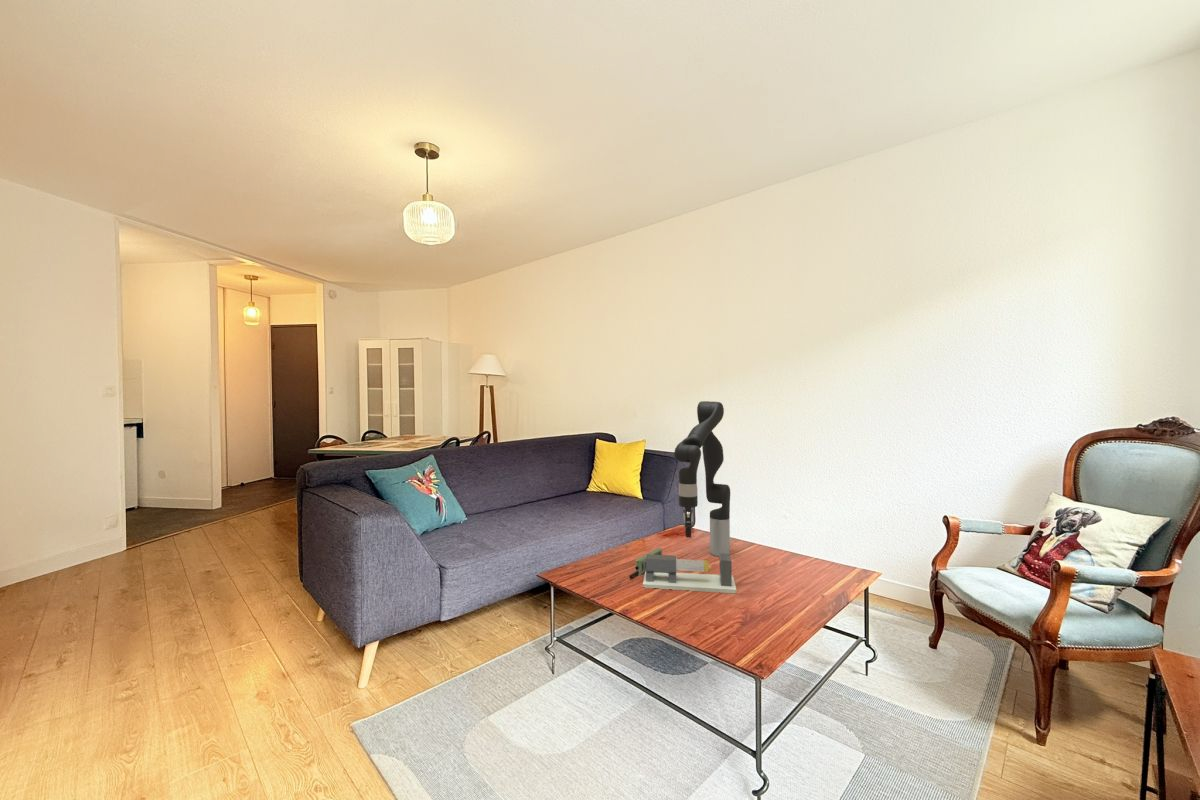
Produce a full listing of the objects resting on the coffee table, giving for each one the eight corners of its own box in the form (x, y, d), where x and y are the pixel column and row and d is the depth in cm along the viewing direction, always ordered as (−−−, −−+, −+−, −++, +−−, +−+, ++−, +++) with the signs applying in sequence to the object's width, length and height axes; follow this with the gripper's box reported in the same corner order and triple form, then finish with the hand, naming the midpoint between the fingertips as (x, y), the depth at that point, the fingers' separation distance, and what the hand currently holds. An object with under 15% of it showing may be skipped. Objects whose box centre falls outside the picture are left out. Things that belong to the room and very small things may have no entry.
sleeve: (647, 573, 200) (647, 553, 200) (676, 575, 198) (676, 554, 198) (645, 581, 192) (645, 559, 192) (676, 583, 190) (675, 561, 190)
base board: (645, 574, 203) (645, 570, 203) (732, 579, 197) (732, 575, 197) (642, 587, 189) (642, 584, 189) (736, 593, 183) (736, 589, 183)
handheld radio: (663, 563, 217) (634, 580, 197) (657, 561, 219) (627, 579, 199) (663, 548, 217) (633, 564, 197) (656, 547, 219) (626, 563, 199)
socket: (719, 577, 195) (719, 553, 195) (729, 578, 194) (729, 553, 194) (721, 585, 187) (720, 560, 187) (731, 586, 186) (731, 560, 186)
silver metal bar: (649, 565, 197) (649, 557, 197) (708, 568, 193) (708, 560, 193) (648, 568, 194) (648, 560, 194) (709, 571, 190) (708, 563, 190)
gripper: (697, 498, 185) (698, 539, 185) (697, 490, 199) (697, 529, 199) (678, 497, 186) (678, 539, 186) (678, 490, 200) (679, 528, 200)
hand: (688, 534), depth 193 cm, fingers open, 8 cm apart
